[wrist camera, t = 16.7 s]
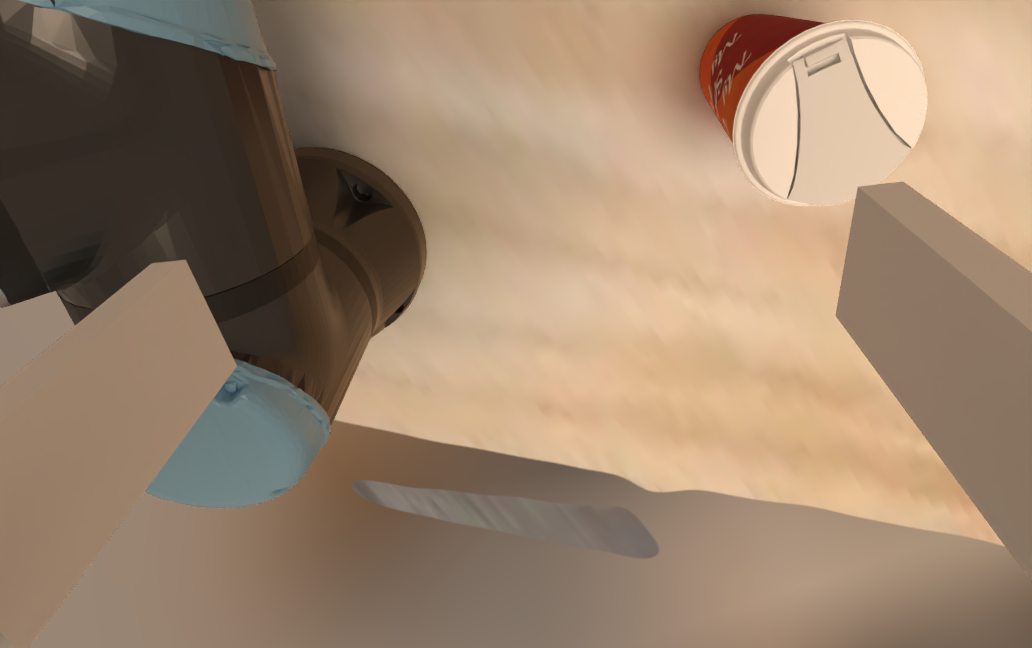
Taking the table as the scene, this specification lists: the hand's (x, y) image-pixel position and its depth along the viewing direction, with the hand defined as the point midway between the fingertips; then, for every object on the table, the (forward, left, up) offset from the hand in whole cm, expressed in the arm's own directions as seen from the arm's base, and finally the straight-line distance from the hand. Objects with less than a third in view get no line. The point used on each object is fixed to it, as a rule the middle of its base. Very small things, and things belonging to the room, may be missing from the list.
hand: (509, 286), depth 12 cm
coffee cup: (+13, -3, -32) cm, 35 cm away
